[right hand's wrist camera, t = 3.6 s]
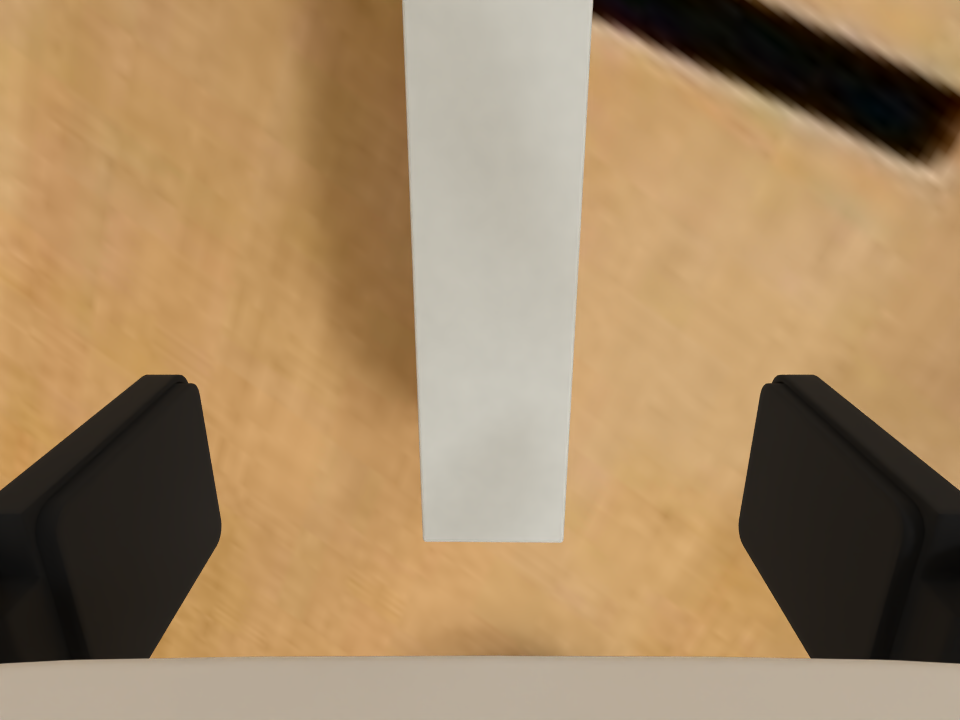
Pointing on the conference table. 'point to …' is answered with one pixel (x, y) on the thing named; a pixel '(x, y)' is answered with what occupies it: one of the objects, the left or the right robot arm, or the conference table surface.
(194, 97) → the conference table surface
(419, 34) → the bar
